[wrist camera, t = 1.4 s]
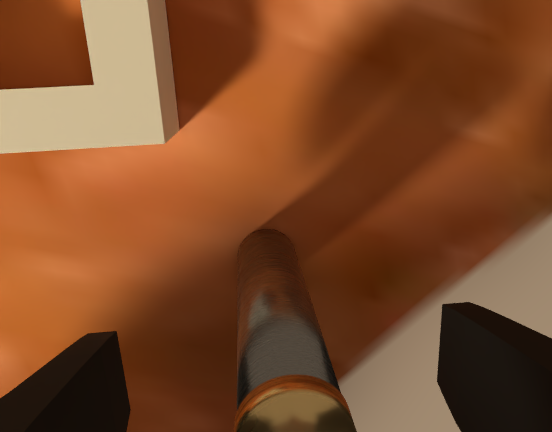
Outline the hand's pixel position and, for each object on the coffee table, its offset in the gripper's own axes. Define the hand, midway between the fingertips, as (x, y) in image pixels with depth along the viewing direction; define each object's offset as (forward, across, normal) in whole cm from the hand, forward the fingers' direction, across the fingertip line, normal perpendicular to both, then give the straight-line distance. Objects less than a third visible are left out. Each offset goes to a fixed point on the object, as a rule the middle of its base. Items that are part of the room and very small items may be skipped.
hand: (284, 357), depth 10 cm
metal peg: (+6, 0, 0) cm, 6 cm away
